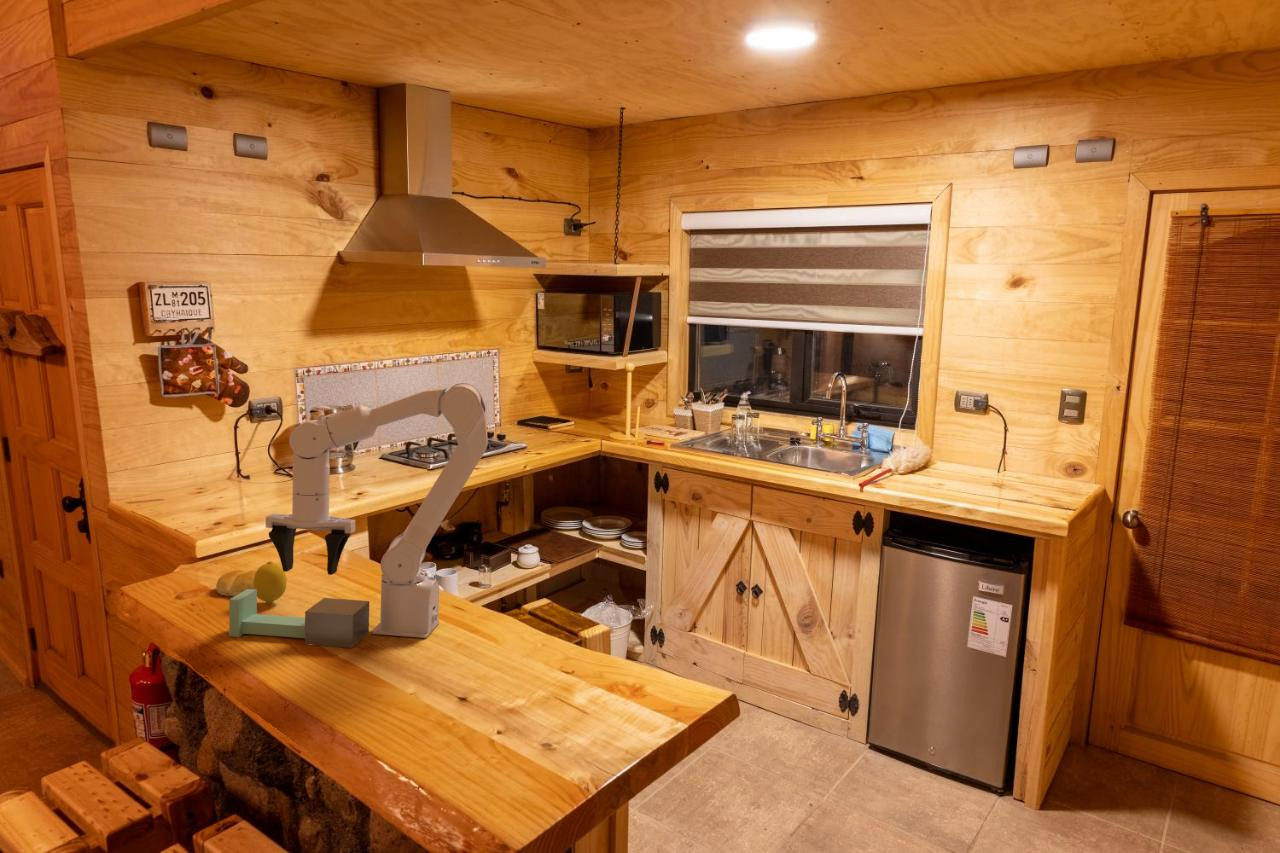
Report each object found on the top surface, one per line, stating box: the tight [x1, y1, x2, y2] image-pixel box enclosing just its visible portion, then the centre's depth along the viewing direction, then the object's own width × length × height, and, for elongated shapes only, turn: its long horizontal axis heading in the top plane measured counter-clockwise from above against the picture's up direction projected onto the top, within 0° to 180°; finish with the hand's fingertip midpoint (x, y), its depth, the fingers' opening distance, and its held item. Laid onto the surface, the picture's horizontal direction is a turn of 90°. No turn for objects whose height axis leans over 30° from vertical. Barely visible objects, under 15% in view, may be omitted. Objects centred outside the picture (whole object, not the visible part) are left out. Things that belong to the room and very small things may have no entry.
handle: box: [228, 589, 305, 639], centre depth 135 cm, size 14×6×6 cm, turn 87°
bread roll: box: [215, 569, 257, 598], centre depth 155 cm, size 8×9×4 cm
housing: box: [304, 597, 370, 649], centre depth 134 cm, size 8×7×6 cm
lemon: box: [253, 560, 287, 605], centre depth 148 cm, size 6×6×8 cm
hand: (310, 571), depth 137 cm, fingers open, 7 cm apart
